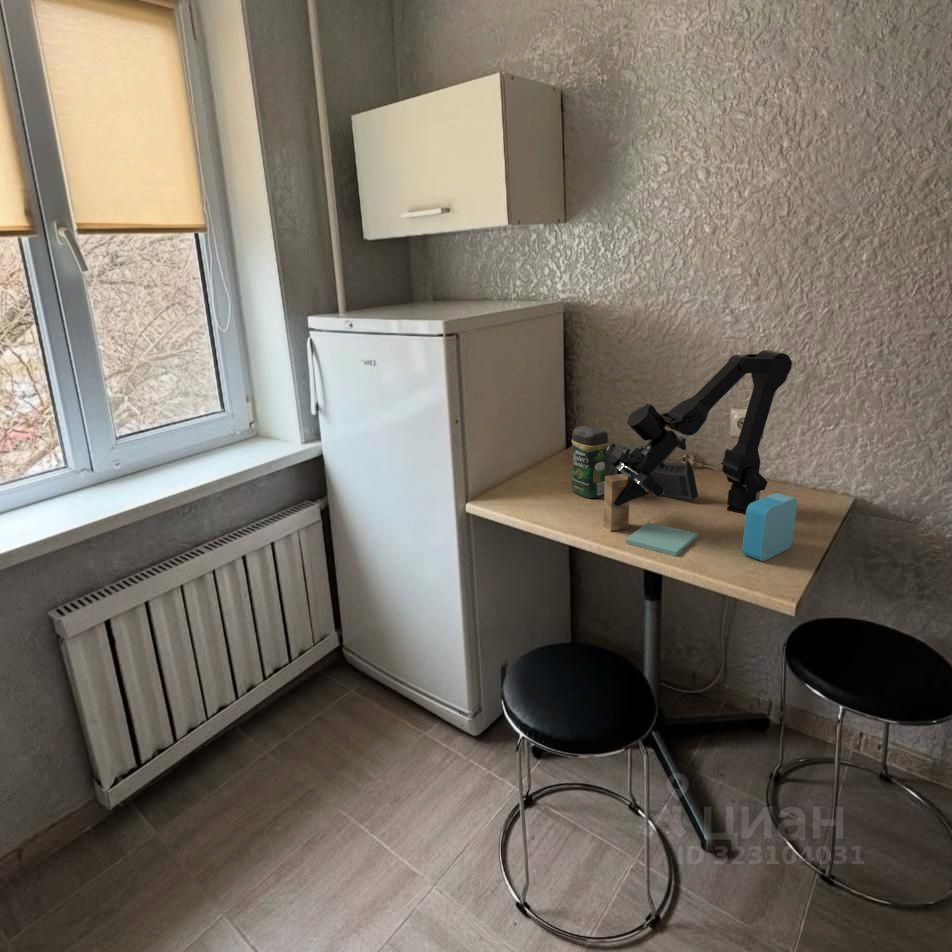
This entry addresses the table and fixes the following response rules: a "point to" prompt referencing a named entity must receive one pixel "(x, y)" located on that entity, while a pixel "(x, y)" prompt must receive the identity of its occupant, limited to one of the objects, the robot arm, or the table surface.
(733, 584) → the table surface
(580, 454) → the coffee jar
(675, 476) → the magazine
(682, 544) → the teal board
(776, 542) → the data package
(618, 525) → the walnut block
